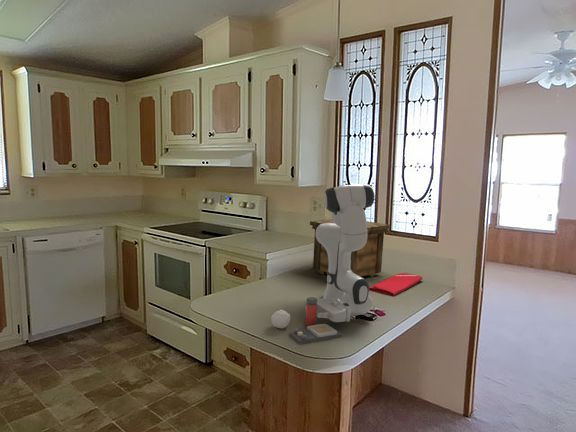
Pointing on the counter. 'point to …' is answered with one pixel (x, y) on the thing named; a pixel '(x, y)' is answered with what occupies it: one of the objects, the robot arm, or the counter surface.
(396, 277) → the red flat block
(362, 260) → the crate
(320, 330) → the control panel
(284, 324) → the white swirled ball
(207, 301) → the counter surface
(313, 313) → the red cylinder with cap
